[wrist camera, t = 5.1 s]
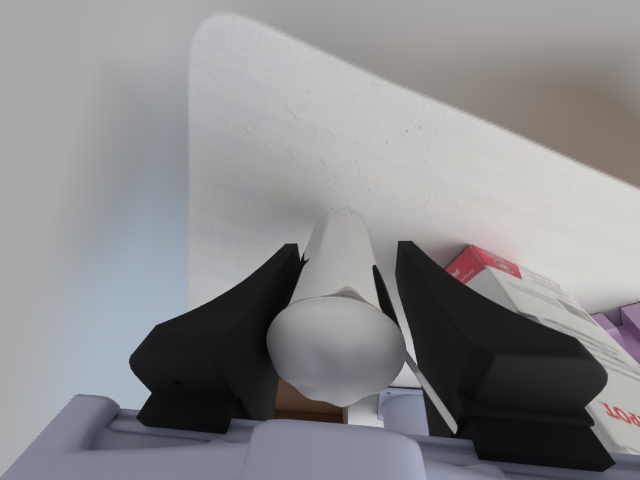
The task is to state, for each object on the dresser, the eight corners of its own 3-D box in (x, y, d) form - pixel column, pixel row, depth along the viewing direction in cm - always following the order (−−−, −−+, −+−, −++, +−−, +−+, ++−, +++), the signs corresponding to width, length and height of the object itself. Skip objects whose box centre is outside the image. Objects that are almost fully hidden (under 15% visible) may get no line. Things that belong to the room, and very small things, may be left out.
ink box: (423, 287, 19) (502, 496, 9) (468, 241, 17) (645, 466, 7) (508, 323, 20) (659, 544, 10) (562, 285, 18) (834, 534, 8)
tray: (344, 364, 27) (344, 383, 25) (348, 413, 33) (347, 430, 31) (229, 358, 29) (221, 375, 27) (253, 405, 35) (248, 421, 33)
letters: (550, 369, 23) (605, 445, 18) (534, 329, 21) (594, 405, 16) (661, 347, 20) (764, 432, 15) (659, 297, 17) (784, 379, 12)
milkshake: (391, 259, 15) (442, 464, 7) (310, 260, 16) (266, 446, 8) (395, 192, 13) (481, 380, 4) (300, 198, 14) (220, 368, 5)
